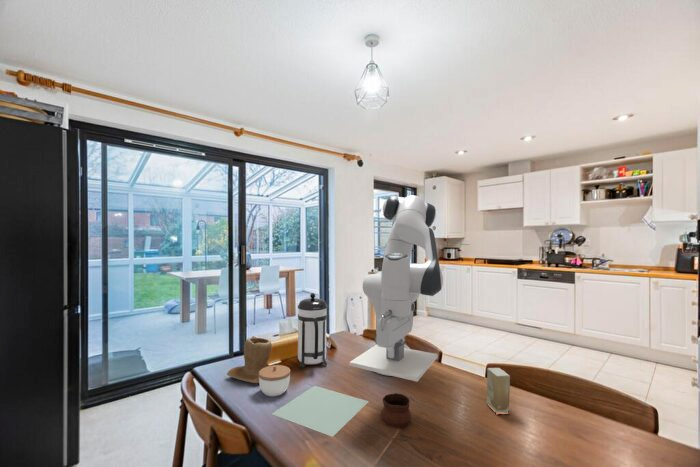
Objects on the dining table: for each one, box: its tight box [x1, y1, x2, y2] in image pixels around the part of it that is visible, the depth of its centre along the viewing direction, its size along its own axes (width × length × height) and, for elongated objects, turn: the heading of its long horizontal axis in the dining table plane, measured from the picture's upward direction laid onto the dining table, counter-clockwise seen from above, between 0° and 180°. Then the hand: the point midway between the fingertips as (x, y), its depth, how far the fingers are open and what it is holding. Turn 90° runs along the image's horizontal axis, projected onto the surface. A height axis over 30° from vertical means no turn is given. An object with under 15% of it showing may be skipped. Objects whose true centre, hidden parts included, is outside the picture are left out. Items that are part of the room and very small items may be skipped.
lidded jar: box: [258, 364, 291, 397], centre depth 112 cm, size 11×11×9 cm
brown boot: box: [226, 336, 272, 384], centre depth 124 cm, size 15×12×15 cm
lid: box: [348, 342, 439, 382], centre depth 96 cm, size 20×20×5 cm
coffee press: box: [297, 293, 328, 369], centre depth 138 cm, size 17×16×30 cm
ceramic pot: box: [380, 392, 414, 441], centre depth 95 cm, size 18×18×7 cm
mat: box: [271, 385, 370, 438], centre depth 102 cm, size 22×22×1 cm
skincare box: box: [486, 367, 511, 412], centre depth 102 cm, size 6×4×12 cm
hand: (395, 354), depth 96 cm, fingers closed on lid, 4 cm apart
